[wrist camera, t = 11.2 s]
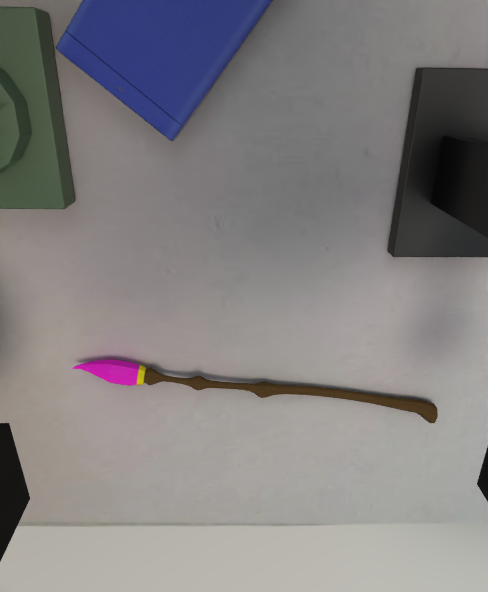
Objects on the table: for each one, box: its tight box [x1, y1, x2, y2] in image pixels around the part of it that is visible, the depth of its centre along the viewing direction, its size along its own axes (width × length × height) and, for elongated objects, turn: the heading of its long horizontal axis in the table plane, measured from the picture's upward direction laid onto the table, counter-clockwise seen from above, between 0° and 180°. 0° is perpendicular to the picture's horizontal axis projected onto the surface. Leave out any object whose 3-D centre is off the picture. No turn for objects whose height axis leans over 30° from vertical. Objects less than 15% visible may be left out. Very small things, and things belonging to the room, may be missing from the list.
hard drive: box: [56, 0, 273, 141], centre depth 26 cm, size 2×8×12 cm
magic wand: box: [72, 359, 437, 423], centre depth 37 cm, size 2×2×30 cm
